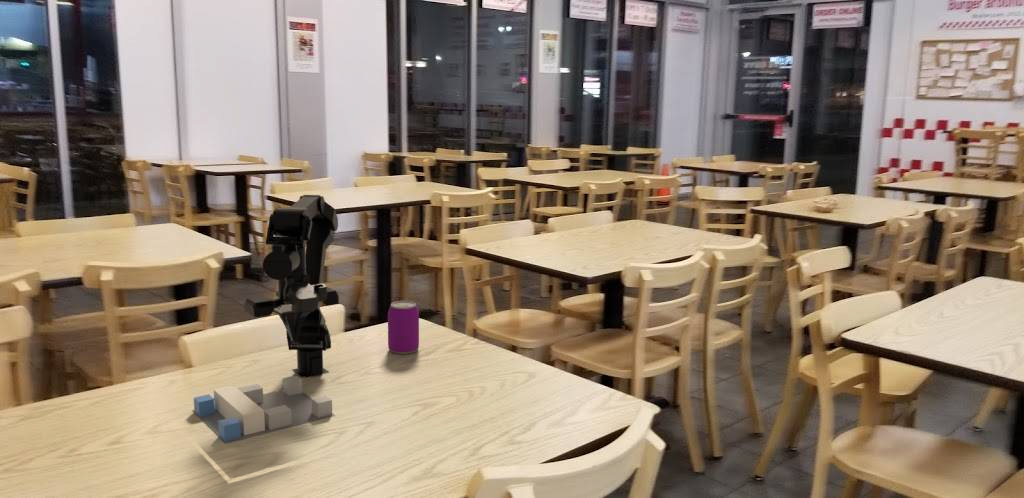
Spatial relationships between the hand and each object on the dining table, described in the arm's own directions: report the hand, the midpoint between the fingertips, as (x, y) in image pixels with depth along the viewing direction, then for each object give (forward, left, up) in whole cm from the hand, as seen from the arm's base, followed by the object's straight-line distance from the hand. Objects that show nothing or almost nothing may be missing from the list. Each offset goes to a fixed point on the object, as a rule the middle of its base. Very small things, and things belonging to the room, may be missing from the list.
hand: (294, 340), depth 173 cm
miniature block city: (+7, -10, -12) cm, 17 cm away
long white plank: (+7, -15, -11) cm, 20 cm away
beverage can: (-12, +34, -12) cm, 38 cm away
